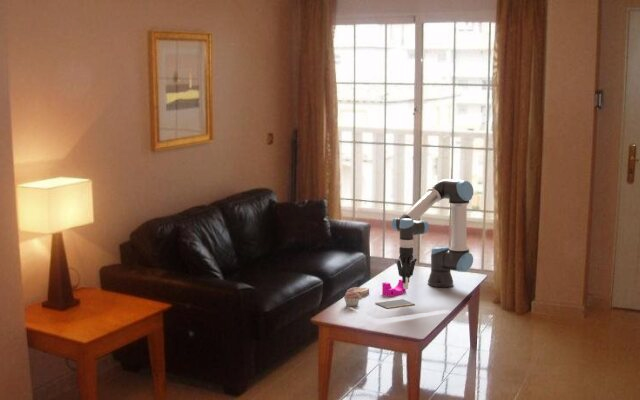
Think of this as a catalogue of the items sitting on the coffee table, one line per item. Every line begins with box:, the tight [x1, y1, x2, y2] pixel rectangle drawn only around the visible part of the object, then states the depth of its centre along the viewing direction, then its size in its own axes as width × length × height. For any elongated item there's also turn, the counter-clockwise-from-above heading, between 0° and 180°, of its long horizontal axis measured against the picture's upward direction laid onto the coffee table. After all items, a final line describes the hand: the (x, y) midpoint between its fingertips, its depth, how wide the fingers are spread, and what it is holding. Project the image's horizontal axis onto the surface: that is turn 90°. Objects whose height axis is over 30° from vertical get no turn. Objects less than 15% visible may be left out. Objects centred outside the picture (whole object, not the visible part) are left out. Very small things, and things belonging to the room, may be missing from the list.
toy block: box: [381, 278, 407, 298], centre depth 454 cm, size 15×6×8 cm, turn 127°
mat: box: [374, 298, 415, 310], centre depth 430 cm, size 18×12×1 cm, turn 117°
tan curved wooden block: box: [346, 286, 370, 299], centre depth 450 cm, size 4×10×9 cm
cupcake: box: [343, 287, 361, 308], centre depth 428 cm, size 9×9×10 cm
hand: (405, 288), depth 432 cm, fingers closed
